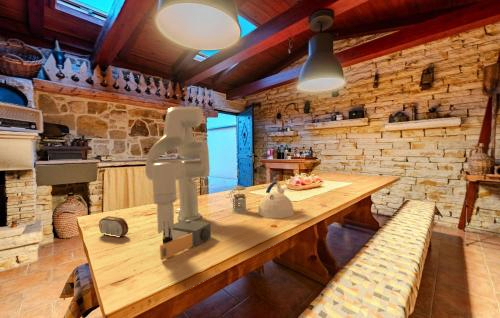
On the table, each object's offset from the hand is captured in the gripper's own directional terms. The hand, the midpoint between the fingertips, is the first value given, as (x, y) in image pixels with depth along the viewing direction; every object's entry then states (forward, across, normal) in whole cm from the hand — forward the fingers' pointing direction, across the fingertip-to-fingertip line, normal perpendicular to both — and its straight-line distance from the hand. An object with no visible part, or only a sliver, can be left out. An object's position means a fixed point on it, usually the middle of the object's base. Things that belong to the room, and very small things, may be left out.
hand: (168, 247), depth 75 cm
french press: (+4, -39, +39) cm, 55 cm away
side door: (+2, +2, +3) cm, 4 cm away
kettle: (+4, -26, +57) cm, 63 cm away
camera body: (+3, -10, +8) cm, 14 cm away
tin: (+3, -28, -23) cm, 37 cm away
